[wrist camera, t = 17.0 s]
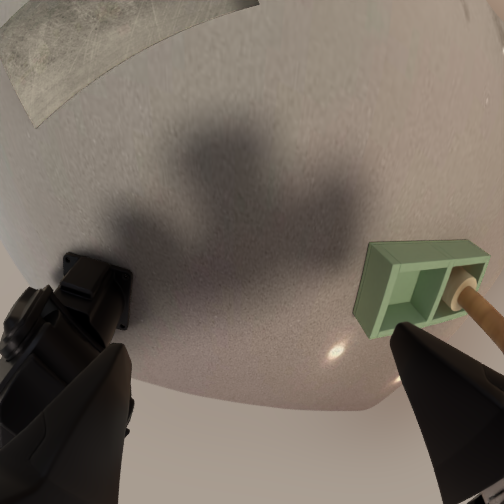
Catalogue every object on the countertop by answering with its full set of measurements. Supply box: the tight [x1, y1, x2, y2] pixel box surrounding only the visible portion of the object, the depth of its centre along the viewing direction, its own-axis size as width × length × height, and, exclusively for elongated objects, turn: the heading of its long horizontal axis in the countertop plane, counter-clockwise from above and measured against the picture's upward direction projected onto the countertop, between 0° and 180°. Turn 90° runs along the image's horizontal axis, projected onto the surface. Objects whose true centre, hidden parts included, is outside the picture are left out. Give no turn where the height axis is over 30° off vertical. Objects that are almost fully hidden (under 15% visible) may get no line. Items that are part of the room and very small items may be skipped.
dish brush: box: [441, 266, 504, 354], centre depth 18 cm, size 4×4×13 cm
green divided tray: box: [353, 240, 491, 339], centre depth 22 cm, size 14×8×4 cm, turn 89°
